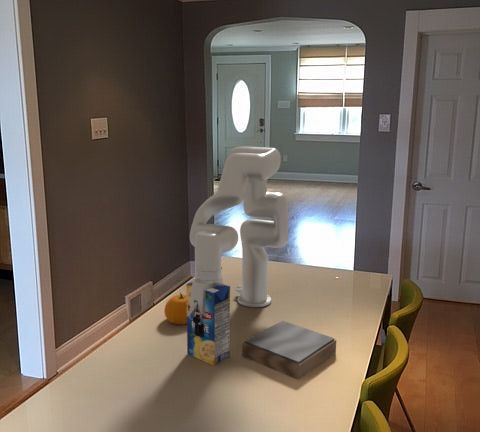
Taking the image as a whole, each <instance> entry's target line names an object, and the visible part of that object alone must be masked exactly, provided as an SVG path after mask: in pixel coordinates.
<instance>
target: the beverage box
mask: <svg viewBox="0 0 480 432" xmlns="http://www.w3.org/2000/svg"><path fill="white" fill-rule="evenodd" d="M192 283H193V281H191V282H189V283H186V286H185V287H186V295H187V313H188V312H189V310H190V301H191V289H192ZM197 311H198V312H199V313H200V311H199V310H198V309H197ZM194 315H195V314H194ZM203 318H204V319H203V322H202V324H204V337H199V336H197V335H195V323H194V322H193V321H192V320H191V319H190V318H189V317H188V316H187V324H186V341H187V342H186V347H187V349H186V350H187V354H188V355H189V356H192V357H193V358H196V359H198V360H201V361H202V362H205V363H207V364H210V365H211V366H216V365H217V364H219V363H221V362H223V361H225V360H226V359H228V358H230V356H231V354H230V353H231V349H230V348H231V285H227V284H224V283H223V284H221V285H219V286H217V287H214V288H211V289H208V290H206V310H205V315H203ZM198 319H200V315H198Z"/></svg>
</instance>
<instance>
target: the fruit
mask: <svg viewBox="0 0 480 432" xmlns="http://www.w3.org/2000/svg"><path fill="white" fill-rule="evenodd" d="M164 316H165V318H166V319H167V321H168V322H170V323H172V324H175V325H187V294H182V293H181V292H180V293H179V294H177V295H176V294H175V295H173V296H171V298H169V299H168V300H167V302H166V303H165V305H164Z"/></svg>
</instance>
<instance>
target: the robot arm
mask: <svg viewBox="0 0 480 432" xmlns="http://www.w3.org/2000/svg"><path fill="white" fill-rule="evenodd" d="M281 161H282V157H281V153H280V152H279V150H278V149H277V148H275V147H264V146H263V147H262V146H261V147H260V146H237V147H233V148H232V149H231V150H230V152H229V156H227V157H226V160H225V162H224V165H223V169H222V174H221V176H220V180H219V183H218V187H217V191H216V192H215V193H214V194H213V195H211V196H209V198H207V199H205V201H204V202H203V203H202V204H201V205H200V206H199V208H198V209H197V210H196V212H195V213H194V214H195V215H194V217H193V221H192V223H191V228H190V232H189V242H190V243H191V245H192V246H193V247H194V277H195V278H194V279H193V280H192V282H193V283H192V289H191V301H190V310H189V312H188V313H187V316H188V317H189V318H190V319H191V320H192V321H193V322H194V323H195V335H197V336H199V337H204V324H202V322H203V319H204V318H203V315H205V310H206V290H208V289H211V288H214V287H217V286H219V285H221V284H224V280H223V279H224V278H223V277H222V270H223V267H222V254H223V253H227V252H230V251H232V250H233V249H234V248H235V247H236V246H237V245H238V241H239V234H238V231H237V230H236V229H235V228H234V227H232V226H229V225H220V224H214V223H213V224H211V223H208V221H209V220H210V219H211V218H212V217H213V216H214V215H216V214H218V213H220V212H222V211H225V210H228V209H230V208H234V207H236V206H238V205H240V204H242V203H243V212H244V214H245V215H246V216H248V217H251V218H253V219H251V218H250V219H249V218H248V219H246V220H244V221H243V222H242V223H241V225H240V229H239V233H240V242H241V249H242V250H241V251H242V252H241V253H242V254H241V256H242V262H241V263H242V265H241V266H242V267H241V268H242V269H241V271H242V274H241V276H242V277H241V285H239V284H238V285H237V286H236V288H235V289H234V291H235V292H236V293H238V294H239V296H238V297H237V302H238V303H239V304H240V305H241V306H244V307H248V308H264V307H266V306H269V305H270V304H271V303H272V298H271V296H270V295H268V284H269V282H268V280H269V279H268V274H269V273H268V271H269V256H268V253H267V251H266V250H265V247H266V248H277V249H278V248H284V247H285V246H286V245H287V243H288V237H289V204H288V203H289V202H288V199H287V196H286V195H285V194H284V193H282V192H275V191H268V184H267V181H268V180H269V179H270V178H271V177H272V176H274V175H275V174H276V173H277V172H278V171H279V169H280V167H281V164H282V163H281ZM256 218H259V219H256ZM260 218H261V219H260ZM267 219H271V220H267ZM197 309H198V310H199V311H200V313H199V312H198V311H197ZM194 314H195V315H194ZM198 315H200V319H198Z"/></svg>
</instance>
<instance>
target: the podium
mask: <svg viewBox="0 0 480 432" xmlns="http://www.w3.org/2000/svg"><path fill="white" fill-rule="evenodd" d="M241 347H242V348H241V357H243V358H245V359H247V360H250V361H252V362H254V363H257V364H260V365H261V366H265V367H266V368H269V369H271V370H274V371H276V372H279V373H281V374H283V375H286V376H288V377H290V378H293V379H295V380H298V381H299V380H300V379H302V378H304V377H305V376H306V375H307V374H309V373H311V372H312V371H313V370H315V369H316V368H318V367H319V366H321V365H322V364H323V363H324V362H326V361H328V360H329V359H330V358H331V357H333V356H334V355H336V354H337V353H336V352H337V339H335V338H334V337H331V336H329V335H326V334H323V333H320V332H317V331H315V330H312V329H309V328H305V327H304V326H303V327H302V326H300V325H297V324H294V323H291V322H288V321H285V320H281V321H278V322H277V323H275V324H274V325H272V326H270V327H267V328H266V329H264V330H262V331H260V332H258V333H256V334H255V335H253V336H250V337H249V338H246V339H245V340H244V341H243V342H242V344H241Z"/></svg>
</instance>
